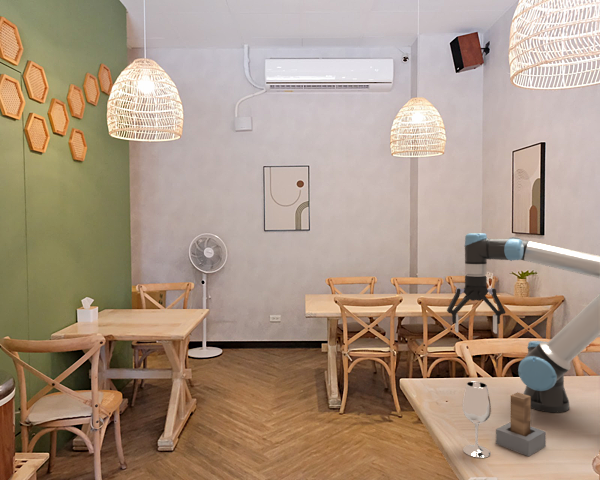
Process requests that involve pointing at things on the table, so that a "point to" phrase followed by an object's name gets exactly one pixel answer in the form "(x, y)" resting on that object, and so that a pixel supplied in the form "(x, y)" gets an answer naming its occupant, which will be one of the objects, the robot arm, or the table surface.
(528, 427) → the wooden block
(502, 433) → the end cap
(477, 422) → the wineglass
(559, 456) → the table surface
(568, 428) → the table surface
